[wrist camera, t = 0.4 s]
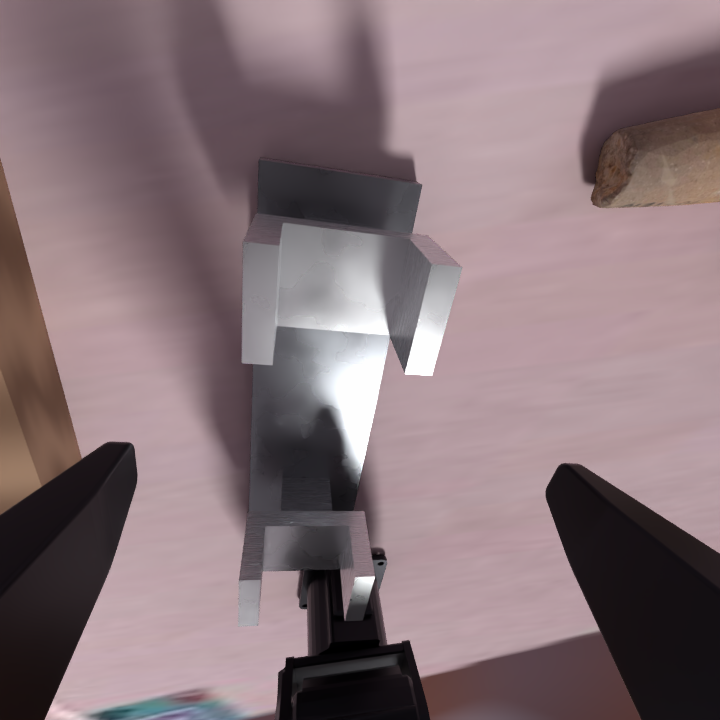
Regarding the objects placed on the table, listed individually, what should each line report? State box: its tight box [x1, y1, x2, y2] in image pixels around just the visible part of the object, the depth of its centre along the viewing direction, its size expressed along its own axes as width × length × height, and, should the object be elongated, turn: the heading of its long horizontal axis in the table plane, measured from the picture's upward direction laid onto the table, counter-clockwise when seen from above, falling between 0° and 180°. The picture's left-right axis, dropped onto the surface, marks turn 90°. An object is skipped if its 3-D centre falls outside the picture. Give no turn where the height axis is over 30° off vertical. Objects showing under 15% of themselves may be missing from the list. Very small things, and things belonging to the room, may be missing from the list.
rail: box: [0, 159, 82, 514], centre depth 20 cm, size 22×3×4 cm, turn 172°
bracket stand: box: [238, 158, 462, 627], centre depth 20 cm, size 23×7×8 cm, turn 171°
